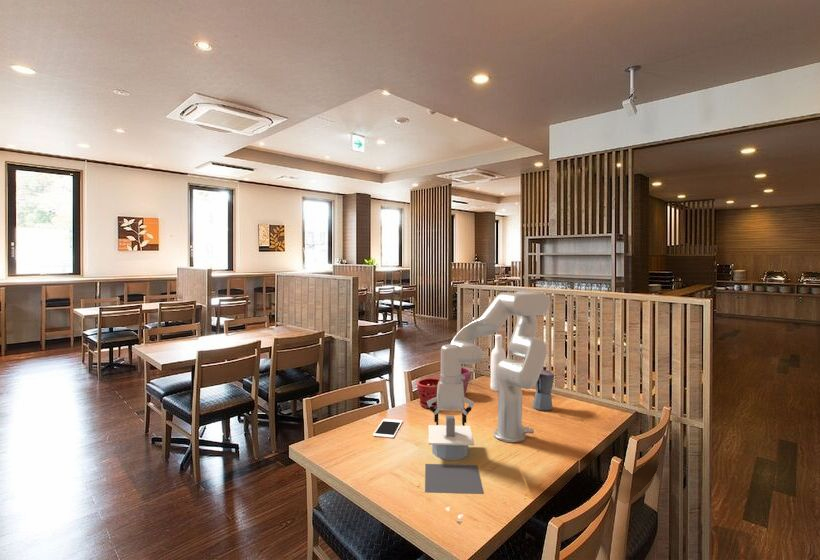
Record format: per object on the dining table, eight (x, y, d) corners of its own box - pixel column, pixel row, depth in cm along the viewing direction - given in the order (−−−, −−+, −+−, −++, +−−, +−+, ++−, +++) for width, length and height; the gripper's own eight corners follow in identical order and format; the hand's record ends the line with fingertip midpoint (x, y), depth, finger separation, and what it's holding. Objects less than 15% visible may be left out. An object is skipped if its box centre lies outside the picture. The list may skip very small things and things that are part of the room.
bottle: (488, 386, 241) (489, 333, 240) (502, 386, 242) (503, 333, 240) (492, 391, 233) (493, 336, 232) (506, 391, 234) (507, 336, 232)
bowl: (466, 446, 166) (466, 428, 166) (469, 462, 153) (469, 443, 153) (432, 445, 167) (432, 428, 167) (432, 461, 154) (432, 442, 154)
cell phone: (403, 422, 191) (403, 420, 191) (393, 439, 174) (393, 437, 174) (383, 420, 193) (383, 418, 193) (372, 437, 175) (372, 435, 175)
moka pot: (557, 405, 212) (558, 365, 211) (548, 415, 199) (549, 372, 198) (537, 402, 217) (538, 362, 216) (528, 411, 204) (529, 369, 203)
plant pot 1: (426, 399, 221) (426, 376, 220) (449, 404, 213) (449, 380, 212) (411, 406, 210) (412, 382, 209) (434, 412, 202) (434, 387, 202)
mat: (477, 467, 150) (477, 465, 150) (483, 497, 132) (483, 493, 132) (425, 466, 151) (425, 463, 151) (424, 495, 133) (424, 492, 133)
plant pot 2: (462, 400, 219) (463, 375, 218) (438, 395, 227) (438, 371, 226) (474, 392, 231) (475, 369, 230) (451, 388, 239) (451, 365, 238)
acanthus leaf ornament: (459, 527, 118) (459, 520, 118) (442, 515, 124) (442, 509, 124) (478, 516, 123) (478, 510, 123) (461, 505, 128) (461, 499, 128)
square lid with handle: (469, 427, 168) (470, 410, 167) (474, 445, 152) (474, 427, 151) (428, 426, 168) (428, 409, 168) (428, 444, 152) (428, 426, 152)
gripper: (473, 376, 162) (472, 420, 163) (427, 375, 163) (426, 419, 164) (475, 382, 154) (474, 428, 155) (427, 381, 155) (426, 427, 156)
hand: (450, 424), depth 160 cm, fingers open, 9 cm apart
